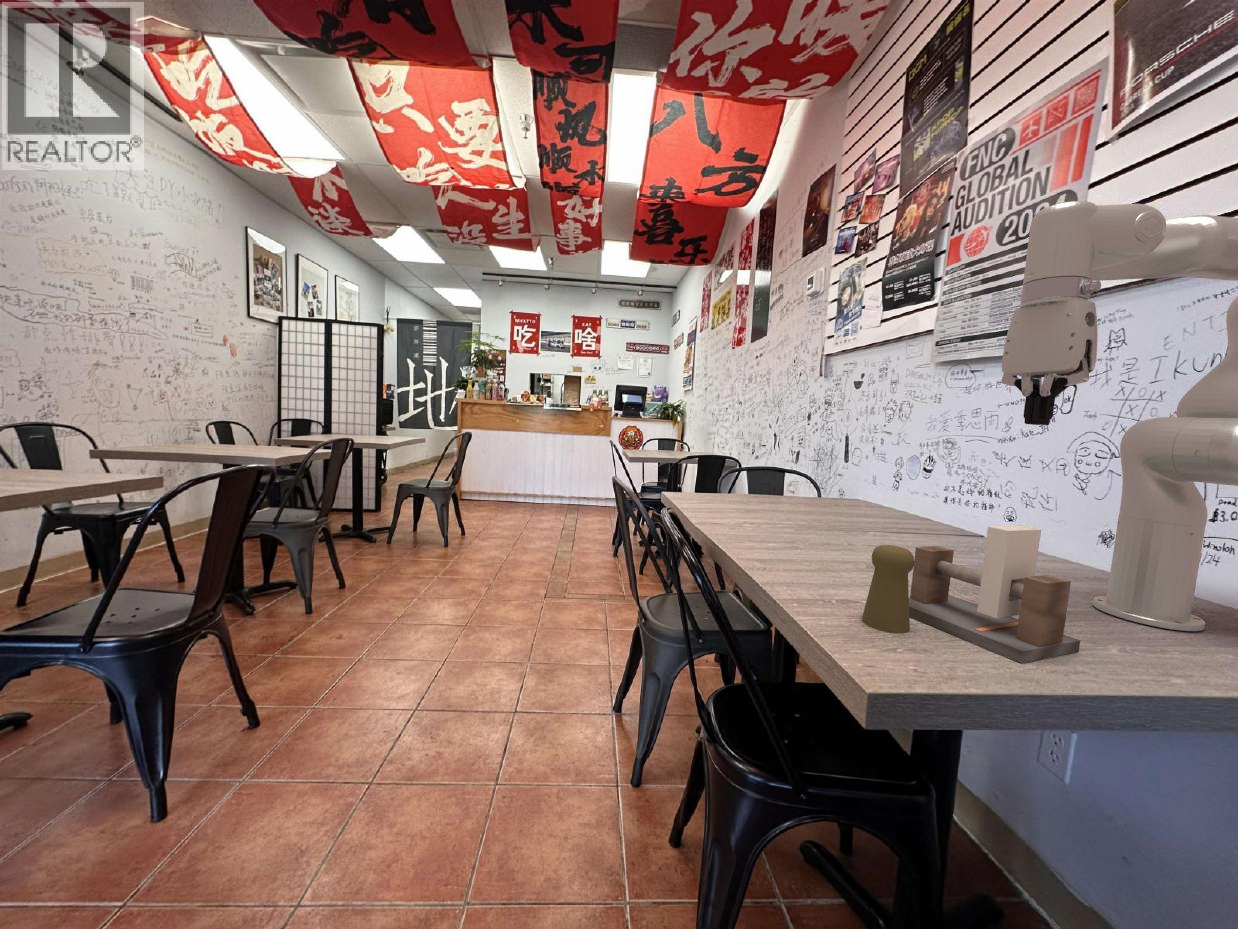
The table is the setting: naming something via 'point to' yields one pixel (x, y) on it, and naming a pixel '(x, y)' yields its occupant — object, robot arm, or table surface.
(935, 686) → the table surface
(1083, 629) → the table surface
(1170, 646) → the table surface
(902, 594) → the olive green pawn
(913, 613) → the rod board
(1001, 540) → the collar
